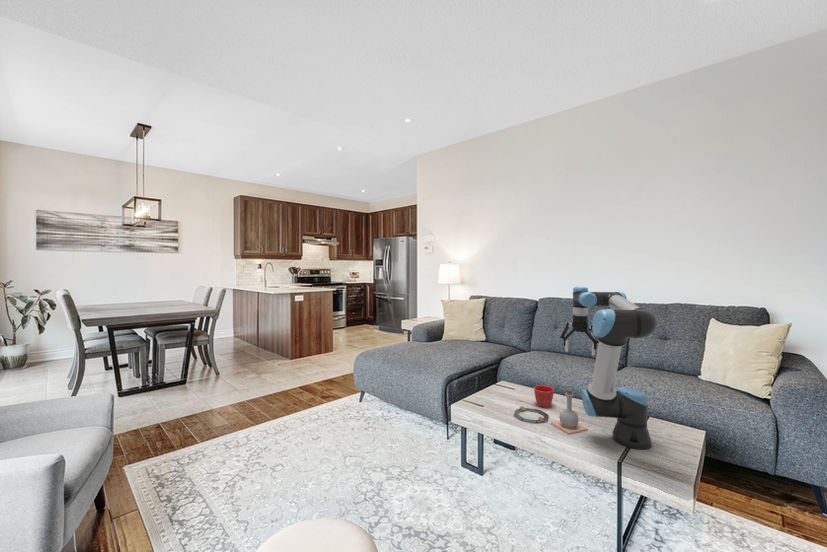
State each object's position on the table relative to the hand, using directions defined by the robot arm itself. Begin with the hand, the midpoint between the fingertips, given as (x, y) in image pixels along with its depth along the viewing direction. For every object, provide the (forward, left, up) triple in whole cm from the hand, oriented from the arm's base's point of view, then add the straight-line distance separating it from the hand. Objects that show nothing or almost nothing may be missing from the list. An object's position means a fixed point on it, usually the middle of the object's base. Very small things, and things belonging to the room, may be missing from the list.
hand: (579, 353), depth 194 cm
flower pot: (+13, +13, -32) cm, 37 cm away
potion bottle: (-14, +21, -31) cm, 40 cm away
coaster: (-14, +21, -32) cm, 41 cm away
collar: (+3, +30, -32) cm, 44 cm away
